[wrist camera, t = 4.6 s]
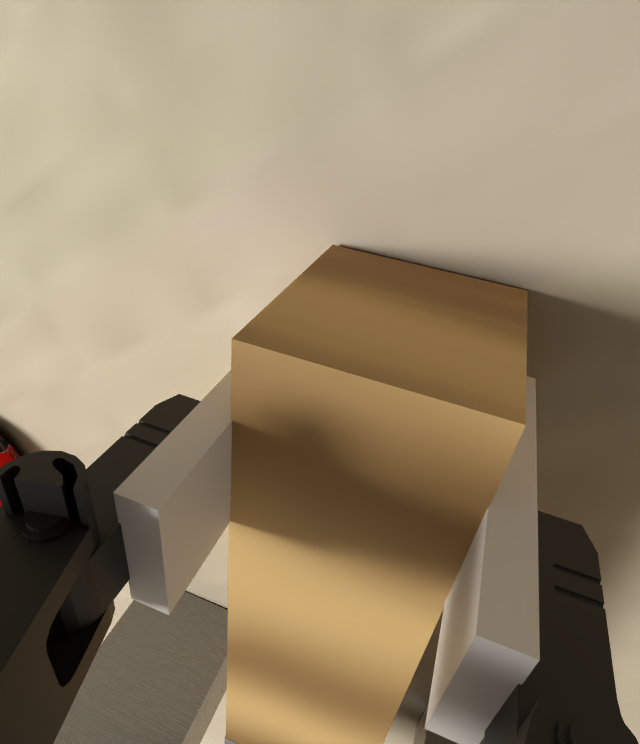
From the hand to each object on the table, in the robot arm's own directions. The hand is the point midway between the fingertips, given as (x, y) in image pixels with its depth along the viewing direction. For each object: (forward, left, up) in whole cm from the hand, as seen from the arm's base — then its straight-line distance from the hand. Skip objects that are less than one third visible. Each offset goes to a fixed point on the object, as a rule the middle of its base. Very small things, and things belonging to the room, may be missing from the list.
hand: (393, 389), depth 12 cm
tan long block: (+6, 0, -1) cm, 6 cm away
